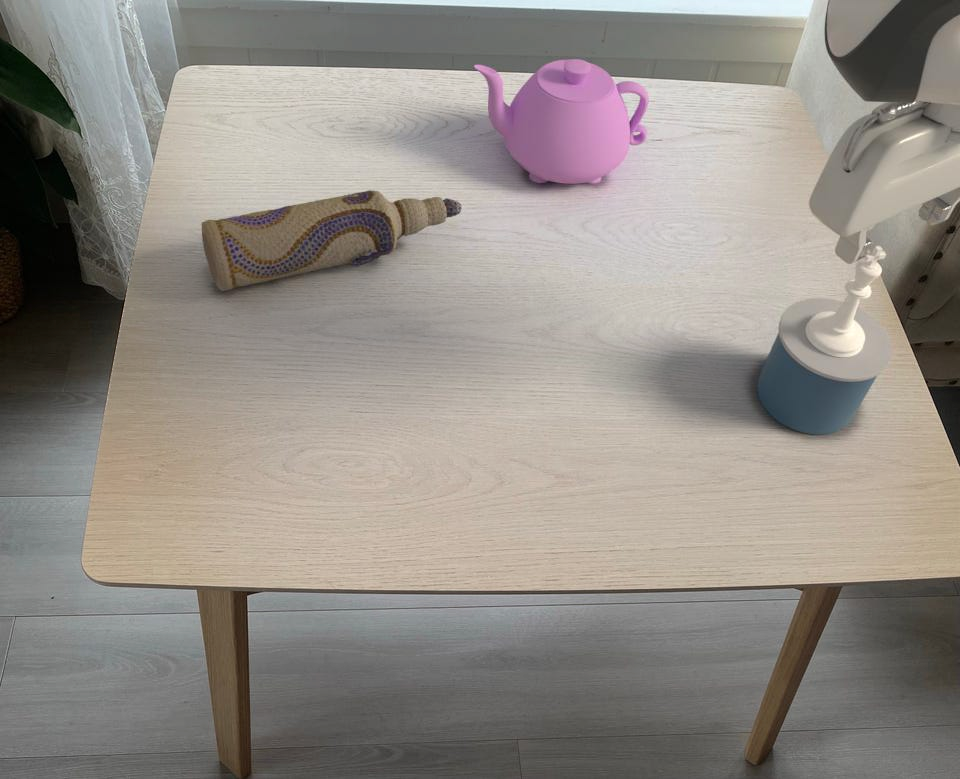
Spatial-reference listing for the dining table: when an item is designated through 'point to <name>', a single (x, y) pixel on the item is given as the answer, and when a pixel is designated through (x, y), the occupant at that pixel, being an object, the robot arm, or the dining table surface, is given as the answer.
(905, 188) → the robot arm
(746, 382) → the dining table surface
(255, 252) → the decorative bottle
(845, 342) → the chess piece
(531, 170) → the teapot
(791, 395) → the yogurt tub
